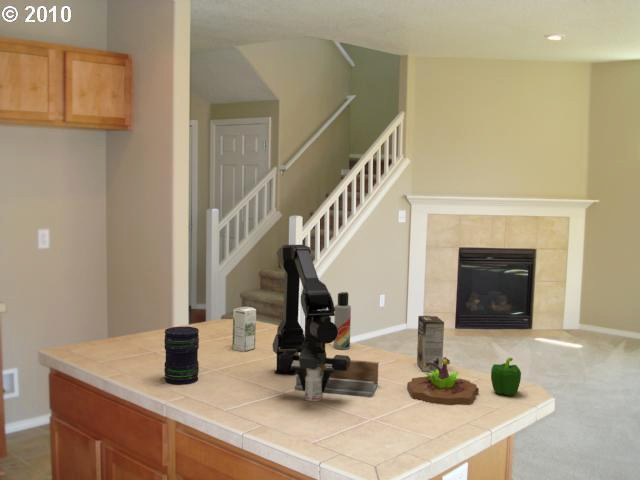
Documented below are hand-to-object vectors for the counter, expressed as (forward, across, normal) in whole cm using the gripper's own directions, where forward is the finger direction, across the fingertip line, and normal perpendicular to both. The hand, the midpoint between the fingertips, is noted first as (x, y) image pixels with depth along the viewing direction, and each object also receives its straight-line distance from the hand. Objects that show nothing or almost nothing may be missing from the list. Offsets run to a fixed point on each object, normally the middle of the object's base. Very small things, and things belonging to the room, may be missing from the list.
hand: (313, 391), depth 186 cm
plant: (+3, +34, +15) cm, 37 cm away
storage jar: (+2, -41, +5) cm, 41 cm away
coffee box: (+2, +28, +41) cm, 50 cm away
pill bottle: (+2, 0, 0) cm, 2 cm away
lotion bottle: (+2, -4, +58) cm, 58 cm away
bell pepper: (+2, +51, +21) cm, 55 cm away
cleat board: (+2, +4, +10) cm, 11 cm away
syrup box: (+2, -36, +45) cm, 58 cm away
